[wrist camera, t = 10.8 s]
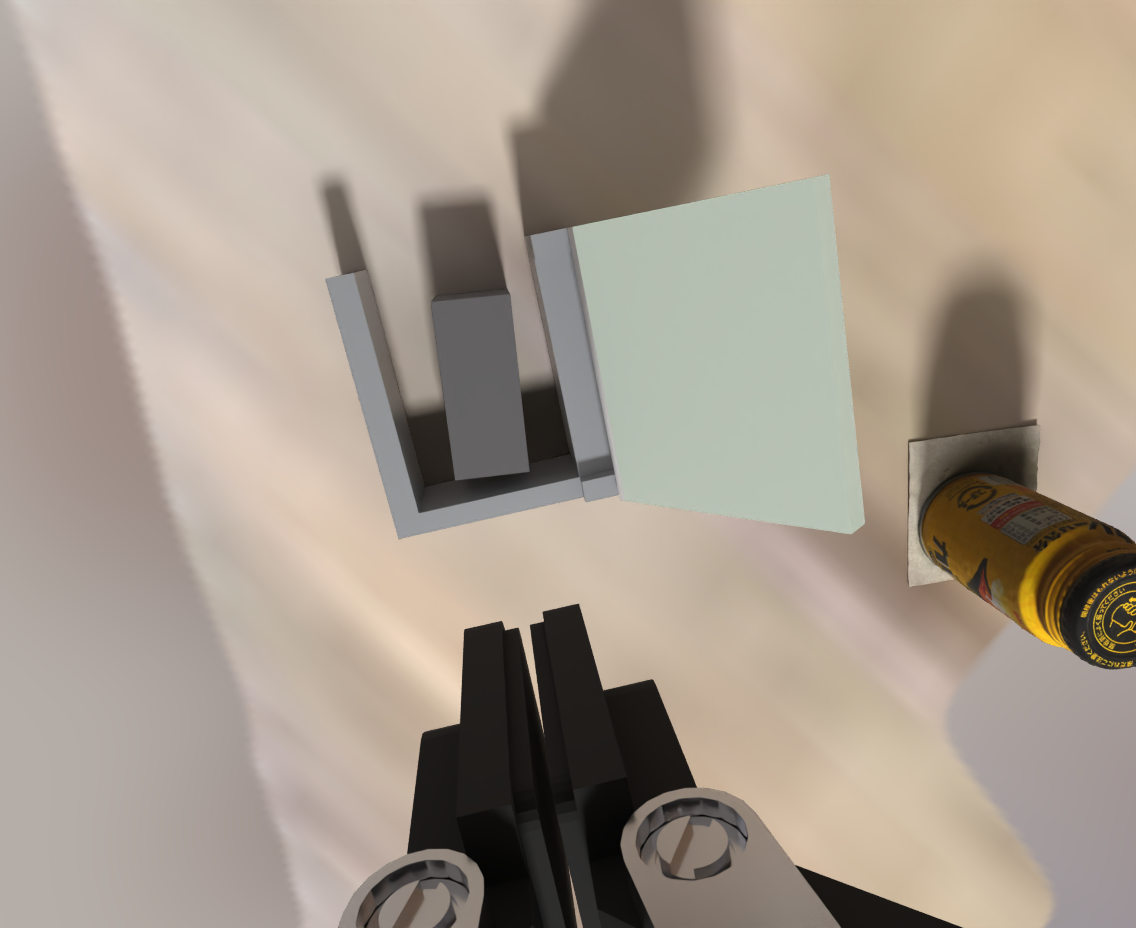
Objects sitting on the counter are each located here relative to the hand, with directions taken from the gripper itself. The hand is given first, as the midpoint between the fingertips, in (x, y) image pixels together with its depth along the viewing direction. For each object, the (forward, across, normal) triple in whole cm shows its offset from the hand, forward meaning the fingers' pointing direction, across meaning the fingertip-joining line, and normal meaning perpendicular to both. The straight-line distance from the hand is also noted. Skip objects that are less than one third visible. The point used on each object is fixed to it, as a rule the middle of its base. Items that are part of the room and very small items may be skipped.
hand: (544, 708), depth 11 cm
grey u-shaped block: (+30, +1, 0) cm, 30 cm away
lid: (+20, -7, 0) cm, 21 cm away
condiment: (+30, -24, +12) cm, 40 cm away
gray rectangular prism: (+30, +1, 0) cm, 30 cm away
